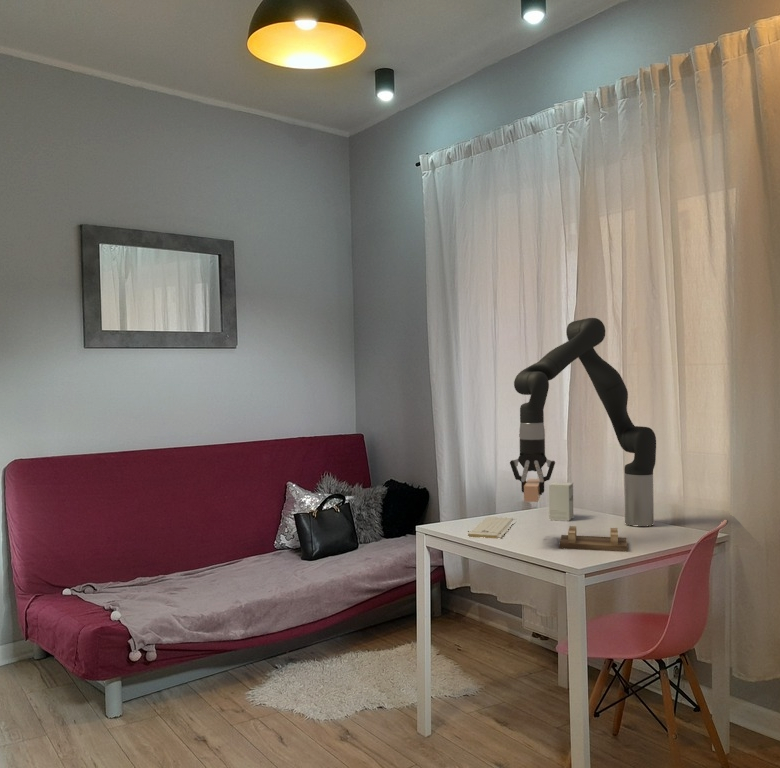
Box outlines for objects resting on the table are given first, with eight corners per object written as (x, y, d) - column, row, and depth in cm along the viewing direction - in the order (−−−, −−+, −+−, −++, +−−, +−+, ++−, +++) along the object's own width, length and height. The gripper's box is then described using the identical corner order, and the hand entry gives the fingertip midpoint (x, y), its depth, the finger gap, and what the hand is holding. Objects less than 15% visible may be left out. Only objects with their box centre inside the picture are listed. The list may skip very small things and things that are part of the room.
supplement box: (569, 521, 260) (569, 485, 260) (548, 520, 263) (548, 484, 263) (574, 517, 267) (573, 482, 267) (553, 516, 270) (553, 481, 270)
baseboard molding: (520, 522, 263) (487, 521, 266) (520, 514, 263) (487, 512, 266) (505, 540, 233) (467, 538, 237) (505, 531, 233) (467, 529, 237)
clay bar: (528, 493, 235) (528, 478, 235) (541, 493, 234) (541, 479, 234) (524, 501, 219) (523, 486, 219) (537, 501, 218) (537, 486, 218)
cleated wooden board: (561, 539, 231) (561, 525, 231) (626, 542, 226) (625, 527, 226) (559, 548, 219) (559, 532, 219) (627, 551, 214) (627, 535, 214)
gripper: (556, 436, 228) (557, 493, 228) (509, 436, 232) (510, 491, 232) (555, 438, 221) (556, 496, 221) (506, 438, 225) (507, 495, 225)
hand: (532, 493), depth 226 cm, fingers closed on clay bar, 4 cm apart
